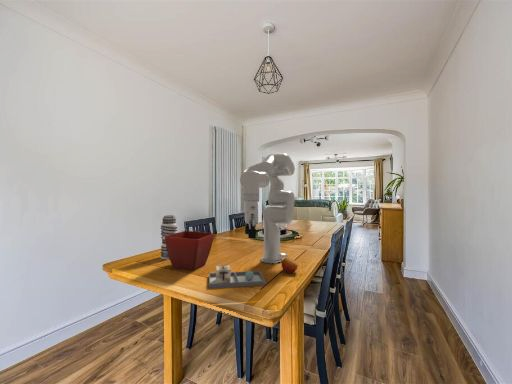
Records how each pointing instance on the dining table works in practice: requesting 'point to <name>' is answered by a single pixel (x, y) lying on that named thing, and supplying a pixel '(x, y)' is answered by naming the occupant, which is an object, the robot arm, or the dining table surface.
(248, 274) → the teal ball
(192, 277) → the dining table surface
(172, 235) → the plant pot
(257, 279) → the compartment box
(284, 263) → the fruit
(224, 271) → the letter cube
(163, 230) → the decorative candle
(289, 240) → the dining table surface
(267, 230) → the robot arm
